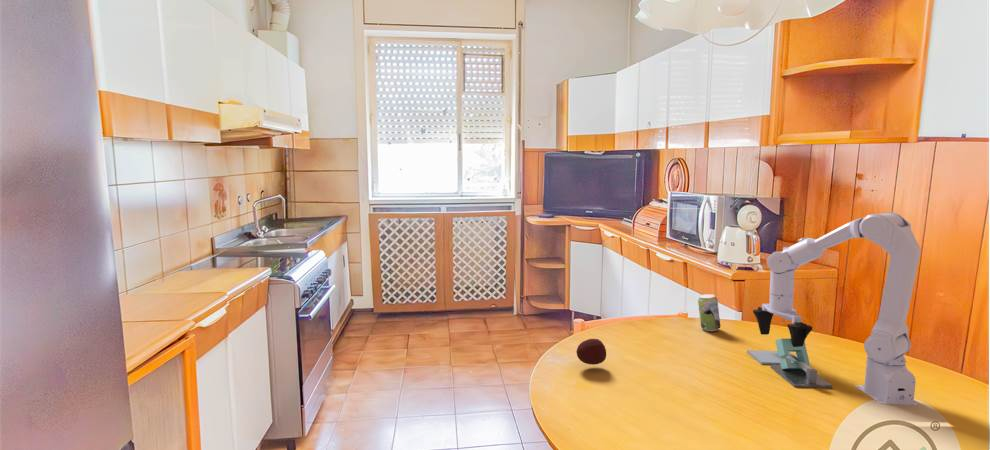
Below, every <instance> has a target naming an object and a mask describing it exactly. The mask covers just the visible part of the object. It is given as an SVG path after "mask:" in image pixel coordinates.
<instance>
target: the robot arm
mask: <svg viewBox="0 0 990 450" xmlns="http://www.w3.org/2000/svg"><path fill="white" fill-rule="evenodd" d="M855 238H856V239H863V238H865V239H867V240H868V241H870V242H872V243H873V244H877V245H878V246H880V247H881V248H882V249H883V250H884V251H885V252H886V253H887V254H888V255H889V256H890V258H889V262H888V267H887V270H886V271H887V272H886V277H885V282H884V287H883V293H882V296H881V297H882V298H881V304H880V306H879V307H880V308H879V313H878V317H877V320H876V322H875V324H874V325H873V327H872V329H871V333H870V335H869V337H867V338H866V340H865V341H864V343H863V348H864V351H865V354H867V355H866V365H865V375H864V385H859V384H857V385H856V384H855V388H857V389H858V390H860V391H862V392H863V393H865V394H866V395H867V396H869V397H871V398H872V399H873V400H875V401H877V402H878V403H880V404H881V405H900V406H901V405H902V406H918V403H917V402H915V391H916V382H917V381H916V377H915V375H914V374H913V373H912V372H911V371H910V370H909V369H908V368H907V364H906V363H907V360H906V357H905V356H904V355H905V354H907V353H908V352H909V351H910V350H911V340H910V338H909V332H910V331H909V329H910V328H909V327H908V325H907V319H908V316H909V315H908V314H909V310H910V306H911V301H912V295H913V292H914V291H913V290H914V285H915V280H916V277H917V272H918V267H919V264H920V257H921V246H920V244H919V242H918V240H917V239H916V237H915V234H914V233H913V231H912V225H911V222H909V221H908V220H907V219H905V218H904V217H903V215H900V214H899V213H896V212H893V211H892V212H891V211H890V212H889V211H887V212H884V213H872V214H867V215H865V217H861V218H857V219H854V220H851V221H850V222H849V221H848V222H847V223H845V224H844V225H841V226H840V227H837V228H836V229H834V230H832V231H830V232H828V233H826V234H824V235H822V236H820V237H818V238H817V239H815V238H813V237H812V238H811V237H801V238H799V239H797V241H798V242H797V243H795V244H793V245H790V246H784V247H782V251H773V252H771V254H769V256H768V257H767V259H766V265H767V267H768V269H769V270H770V277H769V278H770V279H769V280H770V281H769V303H762V304H761V306H757V309H752V313H753V314H754V316H755V318H756V321H757V324H758V329H759V332H760V335H769V334H770V330H771V324H772V323H771V322H772V319H773V317H774V315H775V316H778V317H780V318H782V319H785V320H787V321H789V322H791V323H789V324H787V328H788V330H789V334H790V339H791V342H792V345H793V347H801V346H803V344H804V341H806V339H807V337H808V335H809V334H810V333H811V331H812V330H813V326H812V325H809V324H806V323H804V322H802V315H799V314H798V313H797V310H796V309H794V292H795V291H794V288H795V287H794V286H795V271H796V270H797V269H798V268H799V267H801V266H804V265H806V264H808V263H811V262H812V261H815V260H818V259H819V258H821V257H823V254H824V251H825V250H828V249H829V248H832V247H834V246H836V245H839V244H841V243H844V242H847V241H849V240H851V239H855ZM793 351H801V350H793Z"/></svg>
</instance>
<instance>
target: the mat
mask: <svg viewBox="0 0 990 450" xmlns="http://www.w3.org/2000/svg"><path fill="white" fill-rule="evenodd" d="M746 353H747V354H748V355H750V356H751V357H752V358H754V360H756V361H757V362H758V363H759V364H760V365H767V366H768V365H770V366H771V365H780V360H783V359H788V358H786V356H784V357H779V355H778V350H757V349H755V350H753V349H752V350H750V349H748V350H746ZM789 353H791V354H793V352H789ZM793 355H794V356H796V354H793ZM791 364H795V363H793V362H792V361H791Z"/></svg>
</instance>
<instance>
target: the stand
mask: <svg viewBox="0 0 990 450" xmlns="http://www.w3.org/2000/svg"><path fill="white" fill-rule="evenodd" d="M791 353H792V352H791ZM791 353H789V355H788V356H786V358H788V359H790V360H791V361H792V362H793V363H795V364H796V365H797V366H799V367H800V368H801V369H781V365H770V368H771V370H773V372H775V373H777V374H778V375H779V376H780V377H781V378H782V379H784V380H785V381H786V382H788V383H789V384H790V385H791V386H792V387H794V388H811V389H813V388H815V389H833V384H831V383H830V382H829V381H828V380H826V379H824V378H823V377H822V376H820V375H819V374H818V369H815V368H812V367H811V365H810V366H808V365H807V364H806V363H804V362H803V361H801V360H800V359H799V358H797V356H796V355H795V354H794V355H795V356H794V355H793V353H792V354H791Z"/></svg>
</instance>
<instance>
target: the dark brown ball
mask: <svg viewBox="0 0 990 450" xmlns="http://www.w3.org/2000/svg"><path fill="white" fill-rule="evenodd" d="M576 355H577V358H578V360H579V361H580V362H582V363H584V364H586V365H598V364H602V363H603V362H604V361H605V360H606V359H607V349H606V346H605V344H604V343H603V341H601V340H600V339H597V338H588V339H586V340H583V341H581V343H579V344H578V345H577V348H576Z"/></svg>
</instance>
